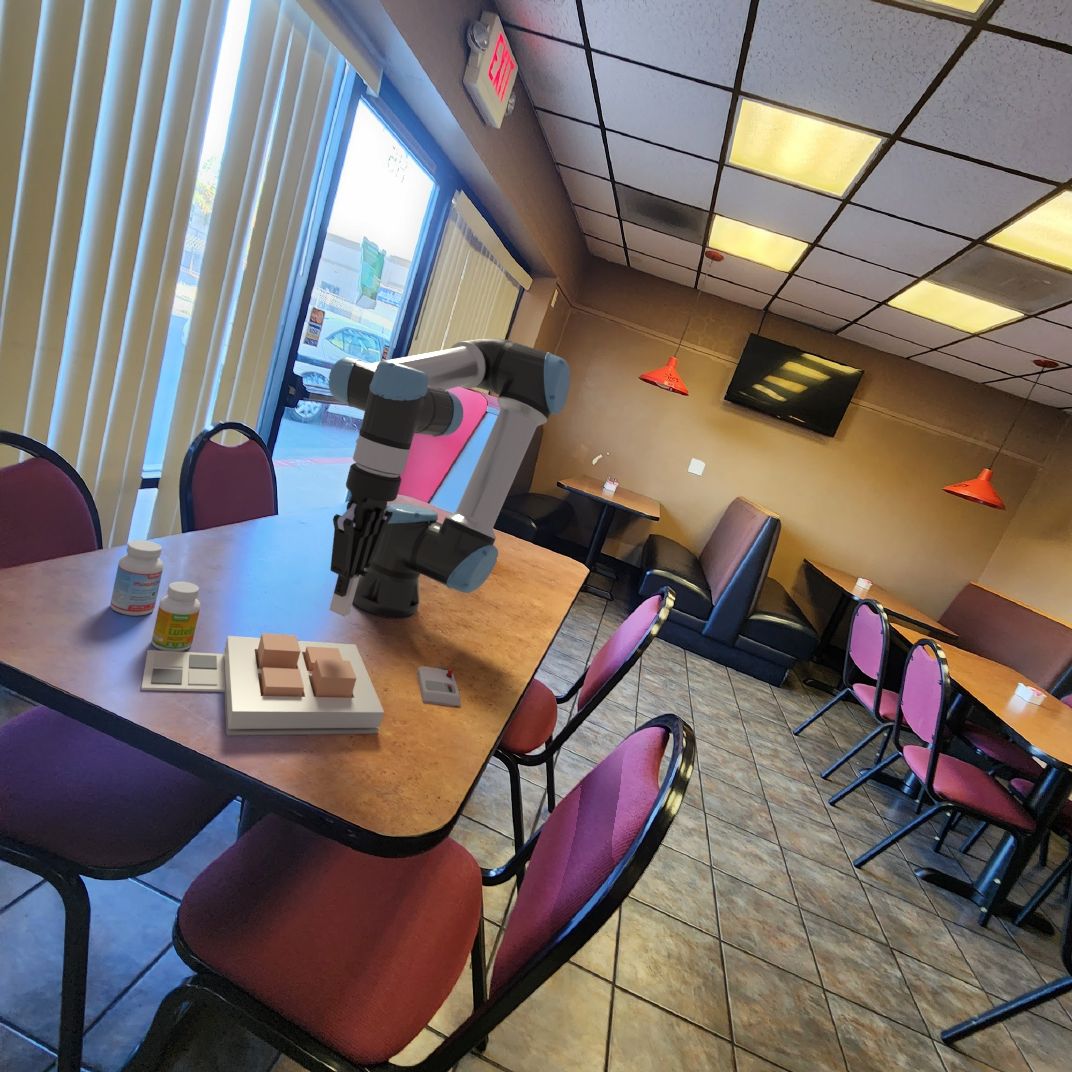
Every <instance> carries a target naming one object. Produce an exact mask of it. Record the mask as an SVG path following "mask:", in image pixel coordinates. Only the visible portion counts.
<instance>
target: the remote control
mask: <svg viewBox="0 0 1072 1072" xmlns="http://www.w3.org/2000/svg"><path fill="white" fill-rule="evenodd" d="M440 665H441V668H437V667H432V666H431V667H429V666H426V664H424V666H419V667H418V669H417V671H416V676H418V677H417V681H418V686H419V690H420V695H421V700H422V703H423V704H424V703H425V704H429V705H430V704H432V705H439V706H445V707H453V706H458V707H457V708H460V707H461V705H462V702H461V701H462V700H461V695H460V692H459V689H458V688H459V687H458V685H457V682H456V680H455V679H456V678H455V676H454V673H453V670H452V669H448V670H447V669H446V668H445V667H444V665H443V663H442V662H441V663H440ZM459 706H460V707H459Z"/></svg>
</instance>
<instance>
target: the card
mask: <svg viewBox="0 0 1072 1072" xmlns="http://www.w3.org/2000/svg"><path fill="white" fill-rule="evenodd" d="M223 654H224V653H215V652H214V653H210V652H209V653H208V652H196V651H195V652H193V651H192V652H191V651H178V652H177V651H164V650H159V649H158V650H157V649H156V650H155V649H147V652H146V656H145V657H146V658H145V663H144V670H143V677H142V681H141V688H140V690H141V691H160V692H161V691H162V692H163V691H164V692H165V691H166V692H170V691H171V692H202V693H203V692H209V693H210V692H212V693H216V692H217V693H225V677H224V656H223Z"/></svg>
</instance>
